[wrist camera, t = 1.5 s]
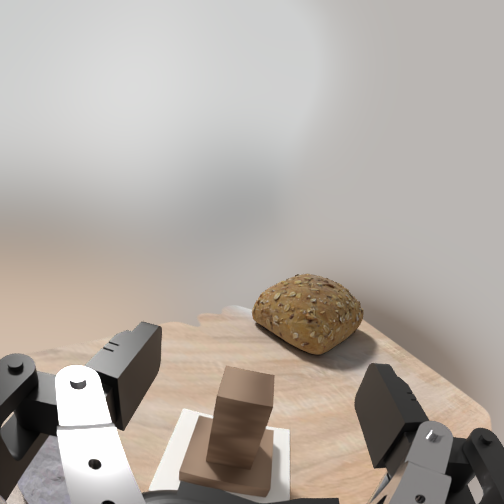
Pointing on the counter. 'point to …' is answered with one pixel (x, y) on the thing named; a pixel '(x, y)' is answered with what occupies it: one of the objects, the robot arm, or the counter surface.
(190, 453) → the walnut stamp
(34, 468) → the stone block
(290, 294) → the bread
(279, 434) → the tile
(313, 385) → the counter surface
